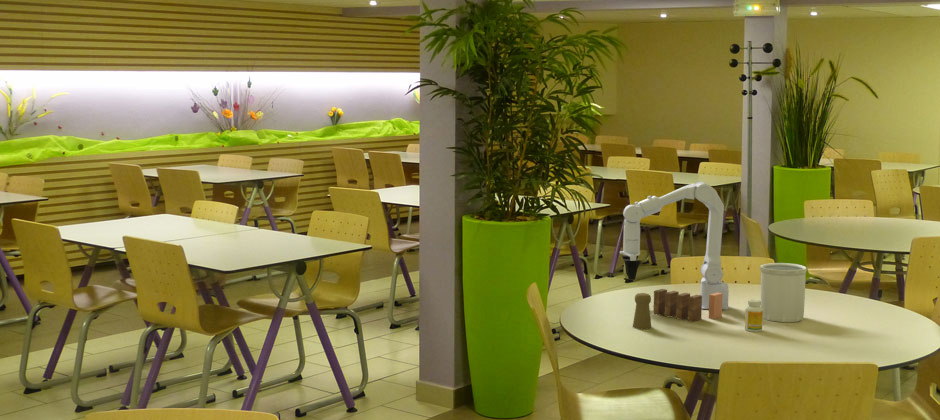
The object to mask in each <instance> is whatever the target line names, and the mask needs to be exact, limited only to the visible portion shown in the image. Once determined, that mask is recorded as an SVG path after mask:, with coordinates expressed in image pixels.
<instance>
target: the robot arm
mask: <svg viewBox="0 0 940 420" xmlns="http://www.w3.org/2000/svg"><path fill="white" fill-rule="evenodd" d="M683 199H687V200H688V199H689V200H695V199H696V200H697V201H699V202H701V203H703V205H705V207H706V208H708V220H707V221H708V223H707V236H706V248H705V249H706V250H705V255H704V258H703V263H702V265H701V267H700V273H701V276H703V277H702V278H701V280H700V294H699V295H702V310H709V295H710V294H714V293H717V292H718V293H722V310H729V296H730V295H729V292H730V291H729V284H728V282H723V281H722V279H723V277H724V272H723V269H722V259H721V249H722V235H723V225H724V224H723V223H724V212H725V204H724V203H723V200H722V199H721V197H720V195H719V194H718V191H717V190H716V189H715V188H714V187H712V186H711V185H710V184H708V183H707V182H705V181H697V182H695V183H690V184H687V185H684V186H682V187H680V188H678V189H674V190H673V191H671V192H669V193H666V194H665V195H661V196H659V197H658V196H656V195H648V196H647V198H646V199H643V200H641V201H639V202H638V201H635V202H634V204H628V205H626V206H625V208H624V209H623V212H622V215H623V217H624V220H623V224H624V225H623V238H622V239H623V240H622V241H623V243H622V245H623V246H622V248H623V250H620V251H619V254H620V255H622V256H621V257H622V260H623V262H624V268H625V273H626V276H627V278H628V280H631V281H635V280H636V277H637V273H638V269H639V266H640V265H641V260H639V259H638V258H639V256H640V255H641V251H640V249H641V248H640V247H641V226H640V225H641V219H642V218H643V219H644V218H646V217H649V216H651V215H654V214H656V213H659V212H661V211H662V208H663V207H664V206H666V205H670V204H672V203H675V202H678V201H680V200H683Z"/></svg>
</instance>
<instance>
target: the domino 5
mask: <svg viewBox="0 0 940 420" xmlns="http://www.w3.org/2000/svg"><path fill="white" fill-rule="evenodd" d="M722 316H723V309H722V293H718V292H717V293H714V294H710V295H709V309H708V319H711V320H716V319H719V318H721V317H722ZM718 317H719V318H718Z"/></svg>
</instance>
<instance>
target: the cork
mask: <svg viewBox="0 0 940 420" xmlns="http://www.w3.org/2000/svg"><path fill="white" fill-rule="evenodd" d="M651 297H652V296H651V295H650V293H646V292H640V293H639V292H638V293H636V294H635V296H634V302H635V310H634V317H633V323H632V328H634V329H636V330H650V328H651V329H652V317H651V309H650V303H652V298H651Z"/></svg>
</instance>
